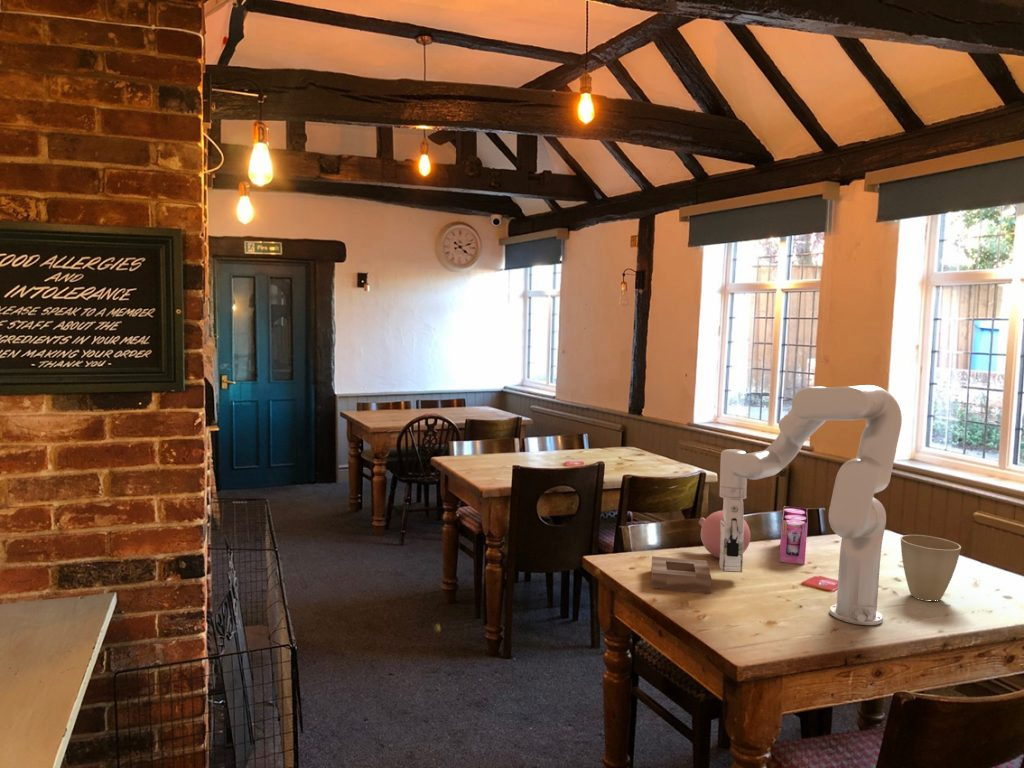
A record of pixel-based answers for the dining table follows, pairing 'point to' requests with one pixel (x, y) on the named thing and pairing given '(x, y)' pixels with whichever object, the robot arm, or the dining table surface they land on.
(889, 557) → the dining table surface
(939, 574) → the plant pot
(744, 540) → the balloon
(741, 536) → the syrup box
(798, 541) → the gum box
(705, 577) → the walnut stand
